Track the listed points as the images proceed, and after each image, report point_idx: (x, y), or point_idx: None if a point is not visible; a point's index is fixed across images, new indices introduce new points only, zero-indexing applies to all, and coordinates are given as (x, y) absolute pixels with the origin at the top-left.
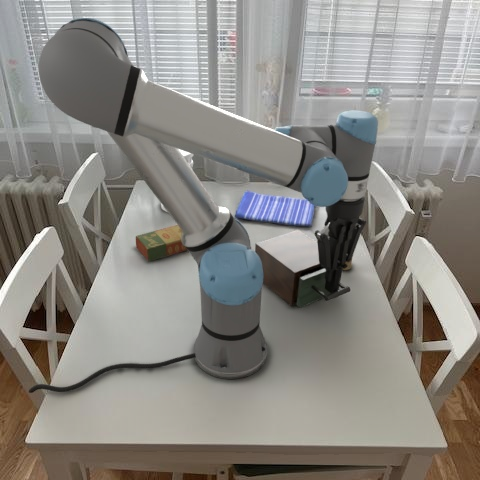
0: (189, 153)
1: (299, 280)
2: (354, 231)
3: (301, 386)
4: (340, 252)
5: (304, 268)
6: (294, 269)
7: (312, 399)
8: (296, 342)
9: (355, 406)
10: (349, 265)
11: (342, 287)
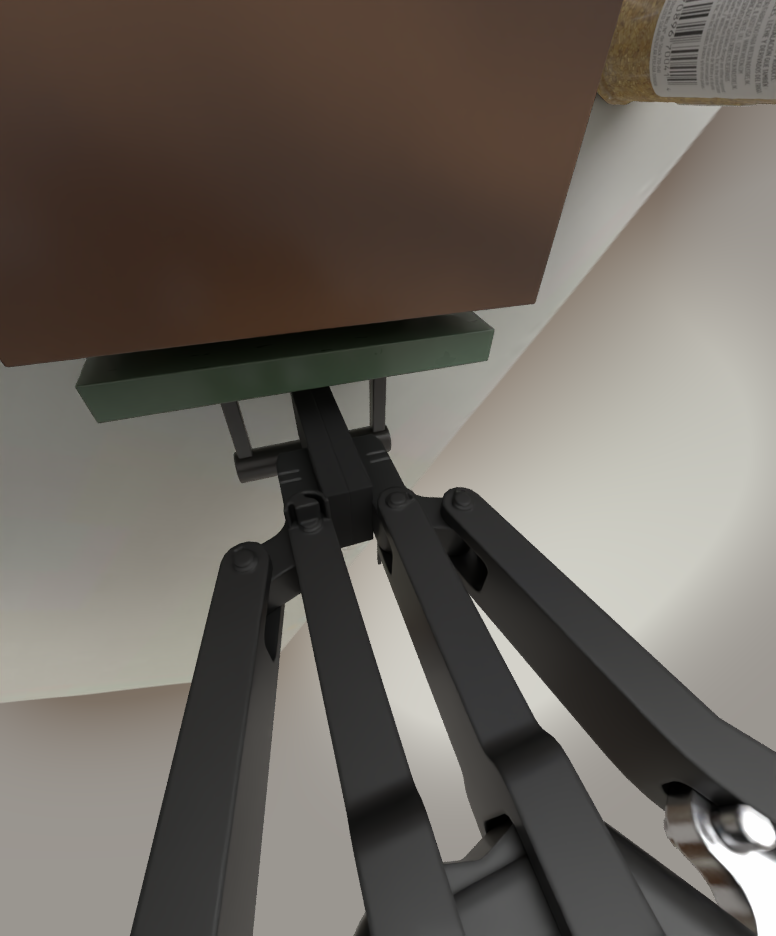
0: None
1: (82, 374)
2: (626, 753)
3: (9, 616)
4: (411, 623)
5: (154, 341)
6: (15, 313)
7: (36, 640)
8: (42, 481)
9: (152, 645)
10: (638, 100)
11: (371, 420)
